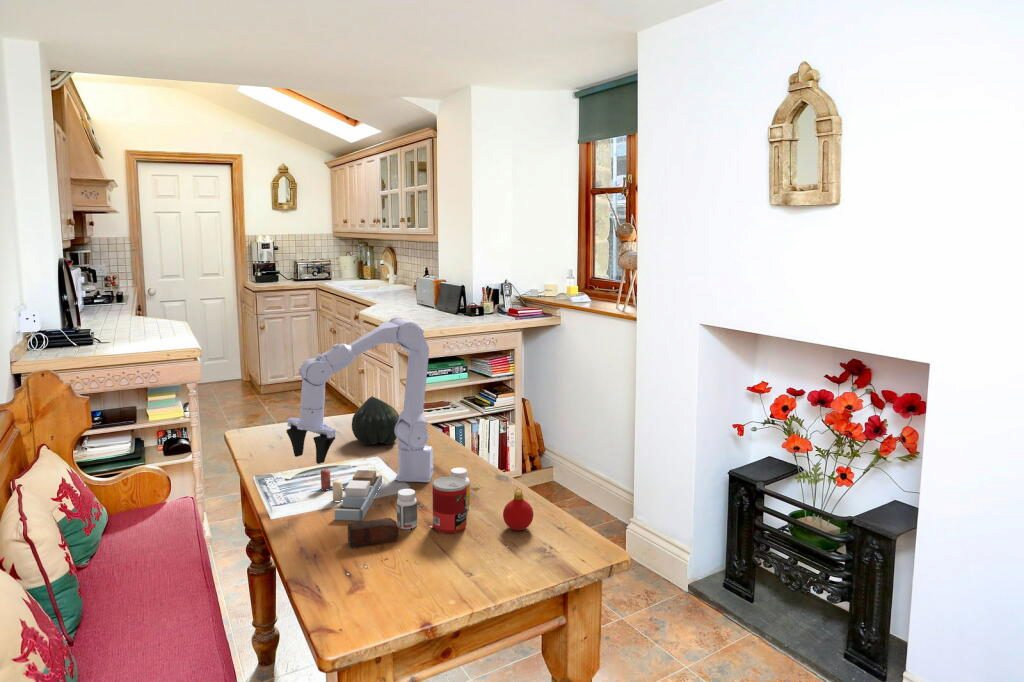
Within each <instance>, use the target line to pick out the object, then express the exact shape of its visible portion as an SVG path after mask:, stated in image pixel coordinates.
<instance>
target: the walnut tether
mask: <svg viewBox="0 0 1024 682" xmlns="http://www.w3.org/2000/svg"><path fill="white" fill-rule="evenodd" d="M376 476H377V470H371V469H370V470H366V469H365V470H364V469H362V470H361V469H357V470H356V471H355V473H354V475H353V476H352V480H355V481H370V486H374V484H375V482H376ZM330 488H333V485H332V484H331V469H328V468H324V469H321V470H320V490H321V489H323V490H326V489H330ZM342 488H344V489H343V490H346V489H345V488H346V486H342ZM323 490H322V491H323ZM330 490H331V489H330Z"/></svg>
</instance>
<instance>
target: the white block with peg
mask: <svg viewBox="0 0 1024 682" xmlns="http://www.w3.org/2000/svg"><path fill="white" fill-rule="evenodd" d="M331 485H332V486H333V489H332V502H333V501H341V500H343V499H342V498H343V497H344V495H343V489H342V487H343V480H341V479H335V480H333V481H332V484H331ZM345 487H346V488H345V489H344V490H345V497H367V496H368V494H369V493H370V481H355V480H353V479H351V480H349V482H348V484H347V485H346V486H345Z"/></svg>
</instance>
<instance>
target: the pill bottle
mask: <svg viewBox="0 0 1024 682" xmlns="http://www.w3.org/2000/svg"><path fill="white" fill-rule="evenodd" d="M396 522H397V526H398V529H402V530H411V528H412V529H414V528H416V527H417V526H418V499H417V498H416V491H415V490H414V489H412V488H403V489H399V490H398V492H397V500H396Z"/></svg>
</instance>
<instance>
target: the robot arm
mask: <svg viewBox="0 0 1024 682" xmlns="http://www.w3.org/2000/svg"><path fill="white" fill-rule="evenodd" d="M424 334H425V333H424V330H423V329H422V327H420V325H418V324H417V323H415V322H412V321H408V320H406V319H403V318H402V317H399V316H398V317H396V316H395V317H393V318H391V319H390V320H386V321H384V322H382V323H381V324H380V325H378V326H377V327H375V328H374V329H372V330H371V331H369V332H367V333H366V334H364V335H362V336H360V337H359V338H357V339H356V340H354V341H353V342H351V343H349V344H346V343H340V344H339V343H334V344H333V345H332V348H331V349H329V350H327V351H325V352H323V353H318V354H316V355H315V358H307V359H306V360H304V361H303V363H302V364H301V365H300V368H299V369H298V372H299V376H300V377H301V379H302V381H301V383H302V384H301V393H300V407H299V409H300V412H299V418H298V417H289V418H288V419H287V427H289V428H287V429H286V430H285V431H286V432H285V433H286V434H287V435H288V438H289V441H290V442H291V446H292V451H293V455H294V457H295V458H297V457H301V456H303V453H304V450H305V449H304V447H305V440H306V436H307V433H308V432H310V433H314V434H317V436H314V437H313V442H314V444H315V462H316V464H318V465H321V464H322V463H325V460H326V458H327V455H328V452H329V450H330V448H331V446H332V444H333V442H334V441H335V440H336V428H333V427H331V426H329V425H327V424H325V423H324V418H325V417H324V414H325V401H326V383H327V382H328V381H329V379H330V377H331V376H332V375H334V374H336V373H338V372H339V371H341V370H343V369H345V368H347V367H348V366H350V365H352V364H354V361H355V359H356V356H359V355H360V354H363V353H364V352H367V351H369V350H372V349H373V348H375V347H376V346H379V345H381V344H382V343H383V344H384V343H385V344H393V345H397V344H398V345H400V347H402V348H403V350H404V351H406V353H407V355H408V357H407V367H406V368H407V369H406V379H405V389H404V390H405V391H404V399H403V400H404V401H403V410H402V411H401V412H400V413H398V414H399V420H398V422H397V424H396V426H395V429H394V432H395V435H396V437H397V438H396V439H398V444H397V446H398V447H397V451H398V452H397V453H398V454H397V455H398V456H397V457H398V463H397V464H398V472H397V475H396V477H395V478H394V481H395V480H398V481H397V482H404V483H405V482H407V483H408V482H409V483H410V482H413V483H414V482H415V483H430V482H431V479H432V478H433V477H432V476H433V474H434V448H433V446H431V445H430V446H429V445H427V444H428V441H429V439H430V438H429V437H430V436H429V432H428V429H427V428H428V427H427V425H428V421H427V419H426V417H425V414H424V407H425V397H426V396H425V395H426V386H427V375H428V366H429V356H430V348H429V344H428V342H427V340H426V338H425V335H424Z"/></svg>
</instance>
